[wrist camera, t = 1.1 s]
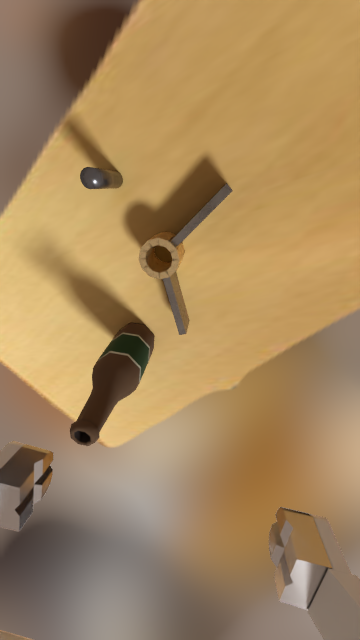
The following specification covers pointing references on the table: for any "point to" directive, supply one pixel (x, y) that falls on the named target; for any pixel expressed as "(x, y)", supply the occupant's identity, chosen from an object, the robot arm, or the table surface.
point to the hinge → (176, 258)
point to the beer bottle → (113, 379)
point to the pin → (100, 178)
